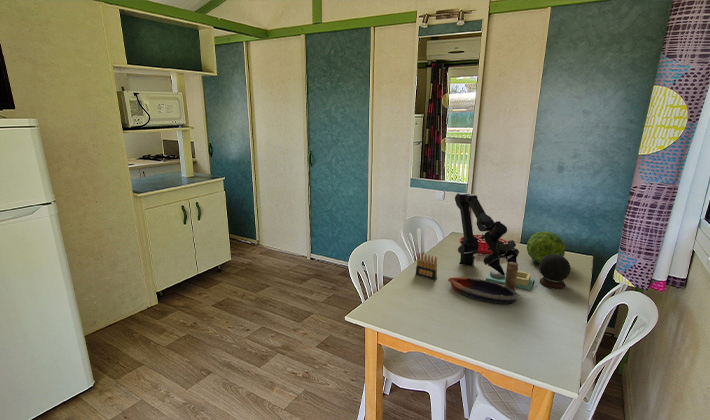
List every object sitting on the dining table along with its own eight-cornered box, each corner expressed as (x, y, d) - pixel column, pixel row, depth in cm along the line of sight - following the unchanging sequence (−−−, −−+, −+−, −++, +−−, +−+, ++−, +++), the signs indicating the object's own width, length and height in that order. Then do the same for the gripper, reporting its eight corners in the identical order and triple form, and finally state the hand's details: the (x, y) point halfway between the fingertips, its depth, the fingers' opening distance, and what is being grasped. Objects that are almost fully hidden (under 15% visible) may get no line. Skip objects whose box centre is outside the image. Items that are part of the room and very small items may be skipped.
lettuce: (566, 260, 210) (564, 228, 210) (566, 268, 189) (564, 232, 189) (529, 260, 219) (527, 229, 219) (526, 267, 199) (523, 233, 198)
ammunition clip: (436, 278, 184) (438, 256, 181) (435, 280, 183) (436, 257, 180) (417, 273, 190) (418, 251, 187) (415, 274, 189) (416, 252, 186)
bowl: (504, 264, 203) (505, 255, 202) (452, 253, 219) (452, 245, 217) (515, 248, 227) (516, 240, 226) (467, 239, 243) (467, 232, 241)
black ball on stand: (536, 286, 177) (540, 256, 173) (537, 276, 188) (541, 248, 185) (568, 292, 171) (573, 262, 167) (567, 281, 182) (572, 252, 179)
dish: (512, 312, 154) (514, 301, 153) (442, 291, 171) (443, 281, 170) (521, 297, 167) (522, 287, 165) (454, 280, 184) (455, 270, 182)
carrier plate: (485, 279, 184) (486, 272, 183) (491, 271, 193) (492, 264, 192) (529, 290, 173) (531, 282, 172) (533, 280, 183) (534, 273, 182)
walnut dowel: (503, 290, 173) (506, 264, 169) (505, 286, 176) (508, 261, 173) (513, 293, 170) (517, 266, 167) (515, 289, 174) (519, 263, 171)
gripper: (490, 238, 168) (508, 269, 161) (518, 232, 176) (536, 261, 170) (475, 249, 176) (492, 279, 170) (502, 243, 185) (519, 271, 178)
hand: (510, 272), depth 172 cm, fingers open, 9 cm apart
